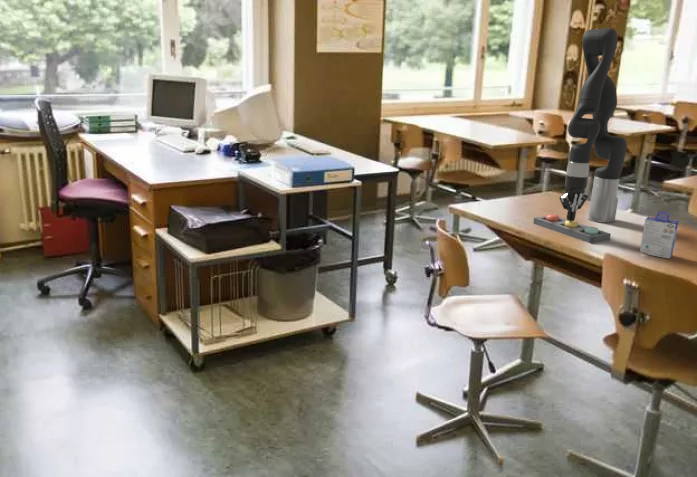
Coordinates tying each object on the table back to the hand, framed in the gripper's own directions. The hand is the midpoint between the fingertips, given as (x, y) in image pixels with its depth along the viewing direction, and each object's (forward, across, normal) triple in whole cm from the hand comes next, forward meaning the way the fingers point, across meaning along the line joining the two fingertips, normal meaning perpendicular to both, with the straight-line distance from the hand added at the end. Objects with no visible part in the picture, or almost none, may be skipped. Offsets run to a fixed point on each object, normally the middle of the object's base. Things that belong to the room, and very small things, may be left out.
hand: (570, 220), depth 251 cm
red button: (+3, 0, -9) cm, 9 cm away
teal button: (+3, -1, +9) cm, 10 cm away
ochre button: (+3, 0, 0) cm, 3 cm away
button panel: (+5, 0, 0) cm, 5 cm away
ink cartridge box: (+5, -9, +30) cm, 32 cm away
